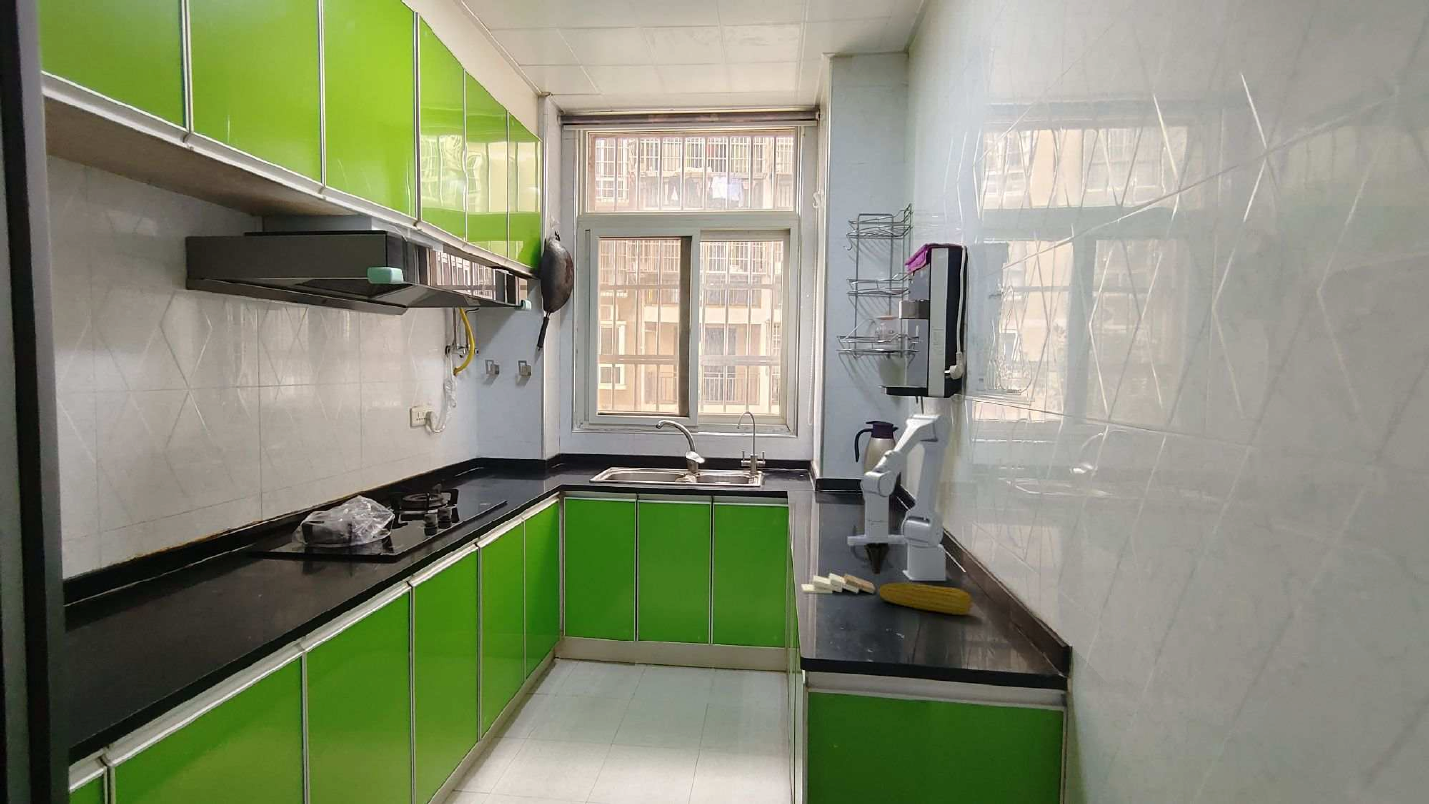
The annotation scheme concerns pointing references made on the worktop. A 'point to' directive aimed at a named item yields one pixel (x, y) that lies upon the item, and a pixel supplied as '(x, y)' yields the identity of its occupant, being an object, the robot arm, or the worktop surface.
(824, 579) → the domino
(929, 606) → the food
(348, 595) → the worktop surface
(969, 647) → the worktop surface
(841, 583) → the domino
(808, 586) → the domino
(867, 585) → the domino
